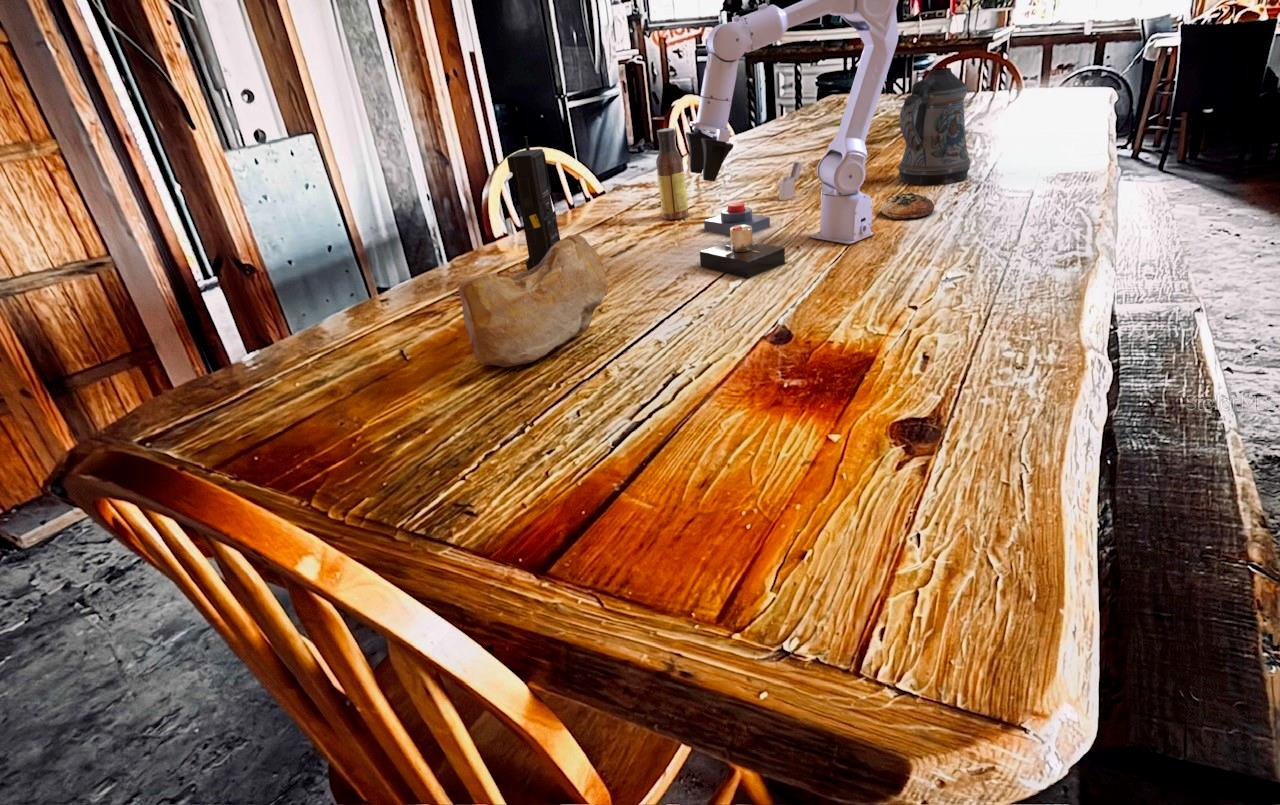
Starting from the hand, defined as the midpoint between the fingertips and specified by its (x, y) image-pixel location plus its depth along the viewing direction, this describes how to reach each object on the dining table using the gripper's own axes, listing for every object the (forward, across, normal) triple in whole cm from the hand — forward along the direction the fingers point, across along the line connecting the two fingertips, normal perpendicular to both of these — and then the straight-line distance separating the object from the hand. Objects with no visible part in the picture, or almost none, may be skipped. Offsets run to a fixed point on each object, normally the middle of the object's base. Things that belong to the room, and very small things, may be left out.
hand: (702, 176), depth 132 cm
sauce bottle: (+15, -32, +7) cm, 36 cm away
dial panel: (+13, +10, +7) cm, 18 cm away
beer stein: (-1, -28, +71) cm, 76 cm away
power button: (+9, -14, +14) cm, 22 cm away
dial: (+10, +10, +6) cm, 16 cm away
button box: (+12, -14, +15) cm, 24 cm away
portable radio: (+22, -6, -26) cm, 35 cm away
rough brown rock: (+23, +28, -33) cm, 49 cm away
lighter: (+8, -33, +36) cm, 50 cm away
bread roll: (+4, -4, +49) cm, 49 cm away
